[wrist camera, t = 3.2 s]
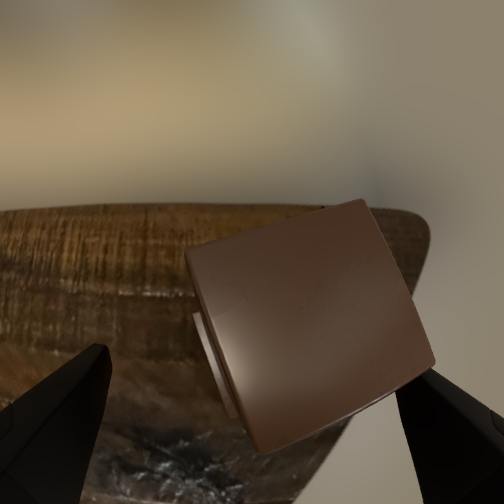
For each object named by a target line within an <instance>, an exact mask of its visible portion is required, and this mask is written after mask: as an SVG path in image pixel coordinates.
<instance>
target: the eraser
mask: <svg viewBox="0 0 504 504" xmlns="http://www.w3.org/2000/svg"><path fill="white" fill-rule="evenodd" d="M184 256H185V260H186V264H187V268H188V272H189V275H190V279H191V283H192V286H193V290H194V294H195V297H196V301H197V304H198V308H199V311H197V312H194V313H192V314H191V315H192V319H193V321H194V324H195V327H196V330H197V333H198V336H199V339H200V342H201V345H202V348H203V350H204V353H205V356H206V359H207V362H208V364H209V367H210V370H211V372H212V375H213V378H214V380H215V383H216V386H217V388H218V391H219V394H220V396H221V399H222V401H223V404H224V406H225V409H226V411H227V414H228V416H229V419H230V420H232V419H235V418H238V417H239V418H240V420H241V422H242V424H243V426H244V428H245V430H246V432H247V434H248V436H249V438H250V440H251V442H252V444H253V446H254V448H255V450H256V452H257V453H258V454H259V455H267V454H269V453H272V452H274V451H277V450H280V449H282V448H285V447H287V446H289V445H292V444H294V443H297V442H299V441H301V440H304V439H306V438H308V437H310V436H312V435H315V434H317V433H319V432H321V431H323V430H325V429H327V428H330V427H332V426H334V425H336V424H338V423H340V422H342V421H344V420H346V419H347V418H349V417H351V416H353V415H355V414H357V413H359V412H361V411H362V410H364V409H366V408H368V407H369V406H371V405H373V404H375V403H377V402H378V401H380V400H382V399H384V398H385V397H387V396H388V395H390V394H392V393H393V392H395V391H397V390H398V389H400V388H401V387H403V386H405V385H406V384H408V383H409V382H411V381H412V380H414V379H415V378H417V377H418V376H420V375H421V374H423V373H424V372H426V371H427V370H429V369H430V368H431V367H433V365H435V358H434V355H433V352H432V349H431V346H430V343H429V341H428V338H427V336H426V333H425V330H424V328H423V325H422V323H421V320H420V317H419V315H418V312H417V310H416V307H415V305H414V302H413V300H412V298H411V295H410V293H409V291H408V288H407V286H406V284H405V281H404V279H403V277H402V275H401V272H400V270H399V268H398V266H397V264H396V262H395V259H394V257H393V255H392V253H391V251H390V249H389V247H388V245H387V243H386V241H385V239H384V237H383V235H382V233H381V231H380V229H379V227H378V225H377V223H376V221H375V219H374V217H373V215H372V213H371V211H370V209H369V208H368V206H367V204H366V202H365V201H364V200H363V199H357V200H353V201H350V202H346V203H342V204H338V205H335V206H331V207H328V208H324V209H320V210H317V211H313V212H310V213H306V214H303V215H299V216H296V217H292V218H289V219H285V220H282V221H278V222H275V223H271V224H268V225H264V226H261V227H257V228H254V229H251V230H247V231H244V232H240V233H237V234H234V235H230V236H227V237H224V238H220V239H217V240H213V241H210V242H207V243H204V244H200V245H197V246H194V247H190V248H188V249H186V250H185V253H184Z"/></svg>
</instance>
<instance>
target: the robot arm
mask: <svg viewBox="0 0 504 504" xmlns="http://www.w3.org/2000/svg"><path fill="white" fill-rule="evenodd" d="M111 375H112V362H111V358H110V354H109V349H108V347H107V346H106V345H103V344H97V343H94V344H92V345H91V346H89V347H88V348H86V349H85V350H84V351H82V352H81V353H80V354H78V355H77V356H75V357H74V358H73V359H71V360H70V361H68V362H67V363H66V364H64V365H63V366H62V367H60V368H59V369H57V370H56V371H55V372H53V373H52V374H50V375H49V376H48V377H46V378H45V379H44V380H42V381H41V382H40V383H38V384H37V385H35V386H34V387H33V388H31V389H30V390H29V391H27V392H26V393H25V394H23V395H22V396H20V397H19V398H18V399H16V400H15V401H14V402H13V404H12V403H11V404H10V405H8V406H7V407H5V408H4V409H3V410H1V411H0V504H79V502H80V497H81V493H82V489H83V485H84V481H85V477H86V473H87V470H88V466H89V462H90V459H91V455H92V452H93V448H94V445H95V441H96V438H97V435H98V431H99V428H100V425H101V422H102V418H103V414H104V410H105V405H106V399H107V394H108V389H109V385H110V380H111ZM395 394H396V398H397V403H398V408H399V413H400V418H401V422H402V425H403V428H404V432H405V435H406V439H407V442H408V445H409V449H410V452H411V456H412V460H413V463H414V467H415V471H416V474H417V478H418V482H419V486H420V490H421V494H422V498H423V503H424V504H504V418H503V417H501V416H500V415H498V414H497V413H495V412H494V411H492V410H490V409H489V408H488V407H486V406H485V405H484V404H482V403H481V402H479V401H478V400H476V399H475V398H474V397H472V396H471V395H469V394H468V393H466V392H465V391H463V390H462V389H460V388H459V387H458V386H456V385H455V384H453V383H452V382H450V381H449V380H447V379H446V378H445V377H443V376H442V375H440V374H439V373H437V372H436V371H434V370H433V369H432V368H430V369H429V370H427V371H426V372H424V373H423V374H421V375H420V376H418V377H417V378H415V379H414V380H412V381H411V382H409V383H408V384H406V385H405V386H403V387H401V388H400V389H398V390H397V391H395Z"/></svg>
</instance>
